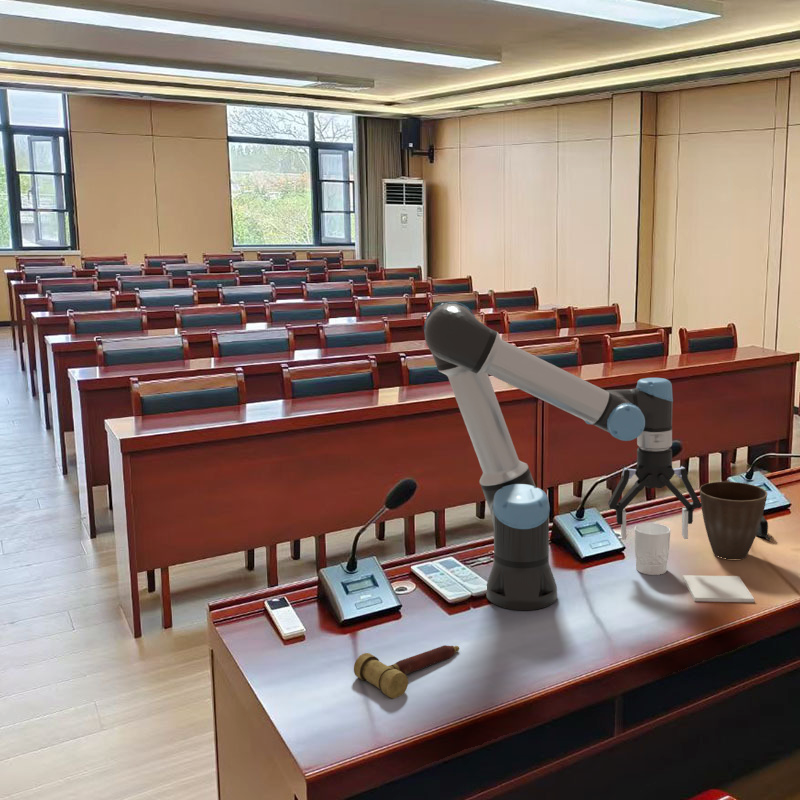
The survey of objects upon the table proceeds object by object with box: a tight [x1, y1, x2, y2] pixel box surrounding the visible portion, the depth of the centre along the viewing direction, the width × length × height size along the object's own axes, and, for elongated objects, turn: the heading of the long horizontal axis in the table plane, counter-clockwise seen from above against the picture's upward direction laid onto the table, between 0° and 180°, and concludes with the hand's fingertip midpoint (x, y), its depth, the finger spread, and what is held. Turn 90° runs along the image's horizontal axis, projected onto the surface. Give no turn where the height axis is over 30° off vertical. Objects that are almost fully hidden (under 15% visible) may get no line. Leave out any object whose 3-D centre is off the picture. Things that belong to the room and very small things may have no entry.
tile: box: [682, 574, 755, 603], centre depth 184 cm, size 12×12×1 cm
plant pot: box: [699, 481, 768, 560], centre depth 202 cm, size 15×15×16 cm
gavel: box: [353, 644, 460, 700], centre depth 154 cm, size 21×5×10 cm
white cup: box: [633, 522, 671, 576], centre depth 195 cm, size 8×8×10 cm
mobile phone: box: [756, 515, 771, 541], centre depth 219 cm, size 5×3×15 cm
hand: (654, 537), depth 195 cm, fingers open, 13 cm apart
